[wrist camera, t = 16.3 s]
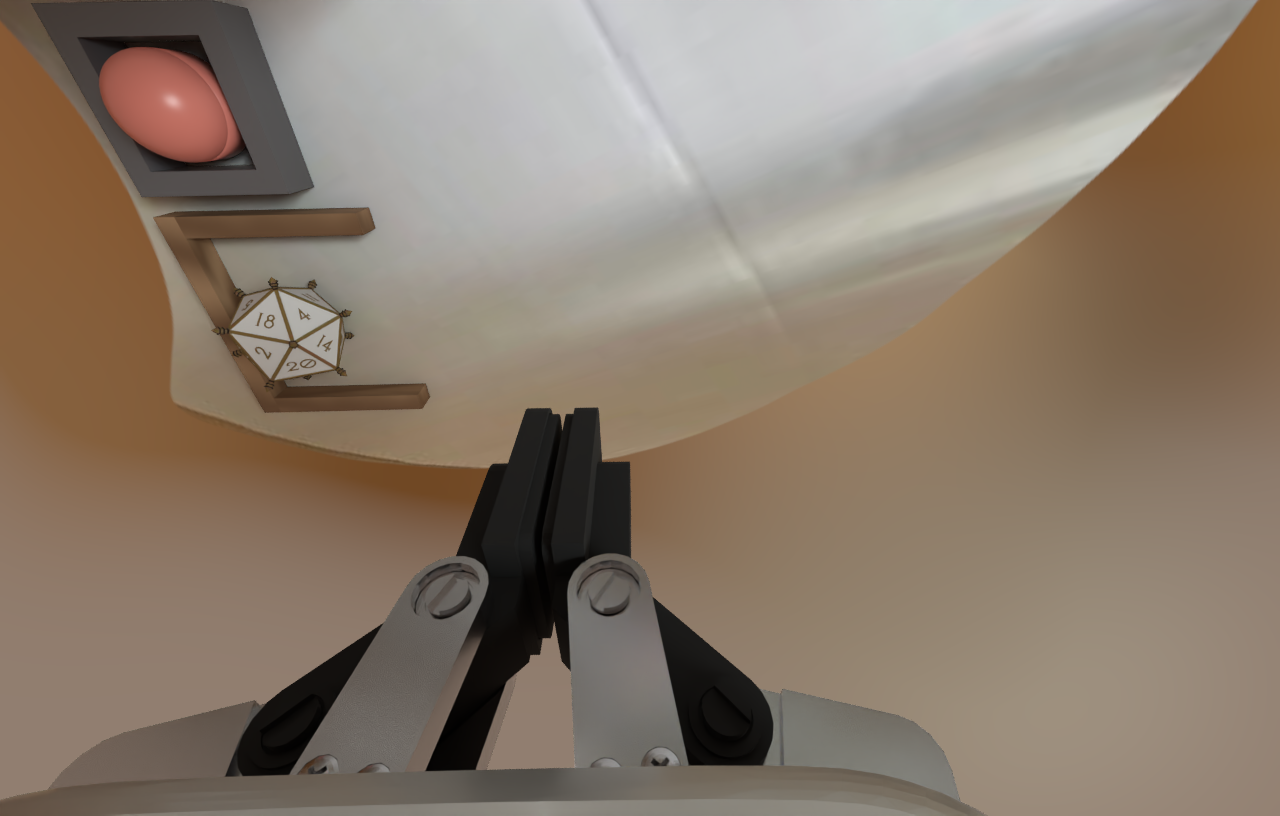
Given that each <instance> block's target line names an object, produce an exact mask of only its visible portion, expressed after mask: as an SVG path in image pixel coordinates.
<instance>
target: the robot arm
mask: <svg viewBox="0 0 1280 816" xmlns="http://www.w3.org/2000/svg"><path fill="white" fill-rule="evenodd" d="M554 622H555V627H556V633H557V638H558V643H559V649H560V654H561V659H562V662H563V663H564V664H565V665H566V667H567V668H568V669H569V670H570V671H571V686H572V710H573V733H574V754H575V768H548V769H505V770H487V767H488V764H489V761H490V758H491V755H492V752H493V749H494V746H495V743H496V740H497V737H498V734H499V731H500V728H501V725H502V722H503V719H504V716H505V714H506V710H507V708H508V705H509V702H510V698H511V696H512V693H513V689H514V686H515V681H516V676H517V675H516V673H517V672H518V671H519V670H521V668H523V667H524V666H525V665H526V664H527V663H528V662H529V659H530V655H540V651H541V645H542V639H543V638H551V636H552V631H553V624H554ZM0 816H987V815H986V814H984V813H982V812H981V811H979V810H977V809H975V808H973V807H971V806H969V805H967V804H965V803H962V802H960V798H959V795H958V791H957V787H956V784H955V780H954V776H953V773H952V770H951V767H950V765H949V763H948V760H947V758H946V756H945V754H944V751H943V750H942V749H941V748H940V746H939V745H938V744H937V743H936V741H935V740H934V739H933V738H932V736H931V735H930V734H929V733H927V732H926V731H925V730H924V729H922V728H921V727H920V726H918V725H917V724H916V723H915V722H913V721H910V720H908V719H906V718H903V717H901V716H898V715H895V714H890V713H886V712H881V711H877V710H872V709H868V708H864V707H860V706H855V705H851V704H847V703H842V702H837V701H833V700H829V699H825V698H820V697H816V696H811V695H806V694H803V693H798V692H794V691H789V690H785V689H782V691H781V694H779V693H775V692H770V691H766V690H762V689H759V688H758V687H757V686H756V685H755V684H754V683H753V682H752V680H750V679H749V678H748V677H747V676H746V675H744V674H743V673H742V672H741V671H740V670H739V669H737V668H736V667H735V666H734V665H733V664H732V663H730V662H729V661H728V660H727V659H726V658H724V657H723V656H722V655H721V654H720V653H718V652H717V651H716V650H715V649H714V648H713V647H711V646H710V645H709V644H708V643H707V642H705V641H704V640H703V639H702V638H701V637H699V636H698V635H697V634H696V633H695V632H694V631H692V630H691V629H690V628H689V627H688V626H687V625H685V624H684V623H683V622H682V621H681V620H679V619H678V618H677V617H676V616H675V615H674V614H672V613H671V612H670V611H669V610H668V609H666V608H665V607H664V606H663V605H662V604H661V603H659V602H658V601H657V600H656V599H655V598H653V597H652V592H651V587H650V583H649V580H648V577H647V574H646V572H645V570H644V569H643V568H642V567H641V566H640V564H638V562H636V561H635V560H633V559H631V490H630V462H602V453H601V438H600V422H599V410H598V408H575V410H574V414H566V416H565V421H564V426H563V431H562V425H561V417H560V415H559V414H552V410H551V409H550V408H531V409H526V411H525V414H524V417H523V420H522V423H521V426H520V429H519V432H518V435H517V438H516V441H515V444H514V447H513V450H512V453H511V456H510V459H509V462H508V464H492V465H491V466H490V468H489V470H488V473H487V475H486V478H485V481H484V483H483V486H482V489H481V491H480V494H479V496H478V499H477V502H476V504H475V507H474V510H473V512H472V515H471V518H470V520H469V523H468V526H467V528H466V531H465V534H464V536H463V539H462V541H461V544H460V547H459V549H458V552H457V555H456V556H453V557H448V558H444V559H441V560H438V561H436V562H434V563H432V564H430V565H428V566H426V567H425V568H424V569H423V570H422V571H420V572H419V573H417V574H416V575H415V576H414V578H413V579H412V580H411V581H410V583H409V584H408V585H407V587H406V588H405V590H404V592H403V593H402V595H401V596H400V598H399V599H398V601H397V603H396V604H395V606H394V607H393V609H392V611H391V612H390V614H389V615H388V617H387V619H386V621H385V622H384V623H383V624H381V625H380V626H378V627H377V628H375V629H374V630H372V631H371V632H369V633H368V634H366V635H365V636H363V637H362V638H360V639H359V640H357V641H356V642H354V643H353V644H351V645H350V646H348V647H347V648H345V649H344V650H342V651H341V652H339V653H338V654H336V655H335V656H333V657H332V658H330V659H329V660H327V661H326V662H324V663H323V664H321V665H320V666H318V667H317V668H315V669H314V670H312V671H311V672H309V673H308V674H306V675H305V676H303V677H302V678H300V679H299V680H297V681H296V682H294V683H293V684H291V685H290V686H288V687H287V688H285V689H284V690H282V691H281V692H280V693H279V694H277V695H276V696H275V697H274V698H272V699H271V700H270V701H268V702H267V703H266V704H262V705H259V704H258V703H257V702H256V701H255V700H254V701H250V702H246V703H242V704H238V705H234V706H229V707H225V708H221V709H217V710H213V711H209V712H206V713H201V714H197V715H193V716H189V717H185V718H181V719H177V720H173V721H169V722H165V723H161V724H157V725H153V726H149V727H145V728H140V729H137V730H133V731H129V732H124V733H122V734H119V735H117V736H114V737H111V738H109V739H106V740H104V741H102V742H101V743H99V744H98V745H96V746H94V747H93V748H91V749H90V750H88V751H86V752H85V753H83V754H82V755H81V756H80V757H78V758H77V759H76V760H75V761H74V762H73V763H71V765H69V766H68V767H67V768H66V769H65V770H64V771H63V772H61V774H60V775H59V776H58V777H57V779H56V780H55V781H54V782H53V784H52V785H51V786H50V787H49V789H48V790H43V791H38V792H33V793H27V794H23V795H17V796H13V797H10V798H6V799H2V800H0Z"/></svg>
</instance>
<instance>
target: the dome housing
mask: <svg viewBox="0 0 1280 816" xmlns="http://www.w3.org/2000/svg"><path fill="white" fill-rule="evenodd" d="M31 4H32V6H33V8H34V10H35V11H36V13H37V15H38V17H39V18H40V20H41V22H42V23H43V25H44V27H45V29H46V30H47V32H48V34H49V36H50V37H51V39H52V41H53V43H54V44H55V46H56V48H57V50H58V51H59V53H60V55H61V57H62V58H63V60H64V62H65V64H66V65H67V67H68V69H69V71H70V72H71V74H72V76H73V78H74V79H75V81H76V83H77V85H78V86H79V88H80V90H81V92H82V93H83V95H84V97H85V99H86V100H87V102H88V104H89V106H90V107H91V109H92V111H93V113H94V114H95V116H96V118H97V120H98V121H99V123H100V125H101V127H102V128H103V130H104V132H105V134H106V135H107V137H108V139H109V141H110V142H111V144H112V146H113V148H114V149H115V151H116V153H117V154H118V156H119V158H120V160H121V161H122V163H123V165H124V167H125V168H126V170H127V172H128V174H129V175H130V177H131V179H132V181H133V182H134V184H135V186H136V188H137V189H138V191H139V193H140V195H141V196H142V197H167V196H214V195H262V194H291V193H294V192H298V191H301V190H305V189H308V188H312V187H314V185H313V182H312V180H311V177H310V174H309V172H308V169H307V166H306V164H305V161H304V158H303V156H302V153H301V150H300V148H299V145H298V142H297V140H296V137H295V134H294V132H293V129H292V126H291V124H290V121H289V118H288V116H287V113H286V110H285V108H284V105H283V102H282V100H281V97H280V94H279V92H278V89H277V86H276V84H275V81H274V78H273V76H272V73H271V70H270V68H269V65H268V62H267V60H266V57H265V54H264V52H263V49H262V46H261V44H260V41H259V39H258V36H257V33H256V31H255V28H254V25H253V23H252V20H251V17H250V15H249V12H248V9H247V8H243V7H239V6H234V5H230V4H226V3H221V2H217V1H212V0H187V1H133V2H79V3H31ZM159 41H201V42H202V44H203V47H204V49H205V51H206V54H207V56H208V58H209V61H210V63H211V65H212V67H213V70H214V72H215V74H216V77H217V79H218V81H219V84H220V86H221V88H222V91H223V93H224V95H225V98H226V100H227V102H228V105H229V107H230V109H231V112H232V114H233V116H234V119H235V121H236V123H237V125H238V128H239V130H240V132H241V135H242V137H243V139H244V142H245V144H246V146H247V149H248V151H249V153H250V156H251V158H252V160H253V163H254V165H227V166H186V164H185V162H182V161H177V160H173V159H170V158H167V157H164V156H161V155H159V154H157V153H154V152H152V151H151V150H149V149H147V148H145V147H144V146H142V145H141V144H139V143H138V142H136V141H135V140H133V139H132V138H131V137H130V136H129V135H127V134H126V133H125V132H124V131H123V130H122V129H121V128H120V127H119V126H118V124H117V123H116V122H115V121H114V119H113V118H112V117H111V115H110V114H109V112H108V111H107V109H106V107H105V105H104V102H103V100H102V97H101V93H100V88H99V76H100V72H101V69H102V66H103V65H104V63H105V62H106V61H107V59H108V58H109V57H111V56H112V55H113V54H115V53H117V52H119V51H120V50H124V49H127V47H126V45H125V44H124V42H159Z"/></svg>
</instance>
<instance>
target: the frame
mask: <svg viewBox="0 0 1280 816" xmlns="http://www.w3.org/2000/svg"><path fill="white" fill-rule="evenodd" d="M153 218H154V220H155V222H156V224H157V225H158V227H159V229H160V231H161V232H162V234H163V236H164V238H165V239H166V241H167V243H168V245H169V246H170V248H171V250H172V251H173V253H174V255H175V257H176V258H177V260H178V262H179V264H180V265H181V267H182V269H183V271H184V272H185V274H186V276H187V278H188V279H189V281H190V283H191V285H192V286H193V288H194V290H195V292H196V293H197V295H198V297H199V299H200V300H201V302H202V304H203V306H204V307H205V309H206V311H207V313H208V314H209V316H210V318H211V320H212V321H213V323H214V325H215V327H216V328H217V326H218V327H223V328H226V329H227V328H228V326H229V324H230V322H231V320H232V318H233V316H234V313H235V311H236V309H237V307H238V305H239V303H240V301H241V297H240V296H237V295H236V294H234V290H233V288H235V286H234V284H233V282H232V280H231V278H230V276H229V274H228V272H227V270H226V268H225V266H224V265H223V263H222V261H221V259H220V257H219V255H218V253H217V251H216V249H215V247H214V245H213V243H212V242H211V240H210V238H239V237H285V236H331V235H364V234H366V233H368V232H370V231H371V230H373V229H375V225H374V222H373V219H372V216H371V213H370V210H369V208H326V209H279V210H232V211H186V212H173V213H169V214H165V215H161V216H157V217H153ZM220 335H221V334H220ZM221 337H222V339H223V340H224V342H225V344H226V346H227V347H228V349H229V351H230V353H231V354H232V353H233V351H236V350H239V349H238V347H237V346H236V345H235V343H234V342H233V340H232V339H231V338H230V336H229V335H228V334H227V333H225V334H223V335H221ZM233 358H234V360H235V361H236V363H237V365H238V367H239V368H240V370H241V372H242V374H243V375H244V377H245V379H246V381H247V382H248V384H249V386H250V388H251V389H252V391H253V393H254V395H255V396H256V398H257V400H258V402H259V403H260V405H261V407H262V409H263V410H264V412H265V413H266V412H308V411H349V410H391V409H422V408H423V407H424V405H425V404H426V402H427V401H428V399H429V398H430V396H429V393H428V389H427V386H426V384H392V385H349V386H307V387H287V386H286V384H285V382H284V380H282V381H277V382H274V386H273V389H272V390H270V391H268V392H266V389H265V387H264V386H265V385H266V384H265V383H267V382H268V379H267V378H266V377H265V376H264V375H263V374H262V373H261V372H260V371H259V370H258V369H257V368H256V367H255V366H254V365H253V364H252V363H251V362H250V361H249V360H248V359H247V358H246V357H245V356H244V355H243V354H242V356H239V357H236V356H233Z"/></svg>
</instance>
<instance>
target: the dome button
mask: <svg viewBox="0 0 1280 816" xmlns="http://www.w3.org/2000/svg"><path fill="white" fill-rule="evenodd" d="M99 88H100V93H101V97H102V100H103V102H104V105H105V107H106V109H107V111H108V112H109V114H110V115H111V117H112V118H113V119H114V121H115V122H116V123H117V124H118V126H119V127H120V128H121V129H122V130H123V131H124V132H125V133H126V134H127V135H129V136H130V137H131V138H132V139H133V140H135V141H136V142H138V143H139V144H141V145H142V146H144V147H145V148H147V149H149V150H151V151H152V152H154V153H157V154H159V155H161V156H164V157H167V158H170V159H173V160H177V161H182V162H192V163H198V162H208V161H214V160H221V159H227V158H231V157H234V156H236V155H238V154H239V153H240V152H241V151H242V150H243V149H244V147H245V146H246V144H245V142H244V139H243V137H242V135H241V132H240V130H239V128H238V125H237V123H236V121H235V119H234V116H233V114H232V112H231V109H230V107H229V105H228V102H227V100H226V98H225V95H224V93H223V91H222V88H221V86H220V84H219V81H218V79H217V77H216V74H215V72H214V70H213V67H212V65H210V64H209V63H208V62H206V61H204V60H203V59H201V58H199V57H197V56H195V55H193V54H190V53H188V52H184V51H180V50H171V49H161V48H152V47H132V48H127V49H124V50H120V51H119V52H117V53H115V54H113V55H112V56H111V57H109V58H108V59H107V61H106V62H105V63H104V65H103V66H102V69H101V72H100V76H99Z"/></svg>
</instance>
